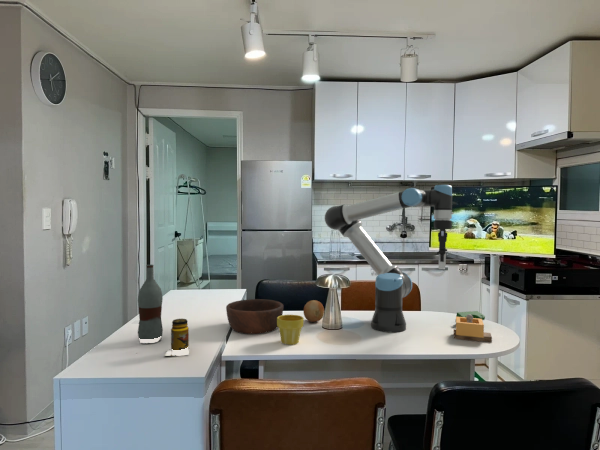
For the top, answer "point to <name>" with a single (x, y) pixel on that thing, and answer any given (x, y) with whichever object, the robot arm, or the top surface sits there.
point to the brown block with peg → (486, 336)
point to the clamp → (473, 313)
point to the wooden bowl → (254, 315)
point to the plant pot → (290, 328)
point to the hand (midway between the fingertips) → (442, 267)
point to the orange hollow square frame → (469, 327)
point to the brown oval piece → (313, 311)
